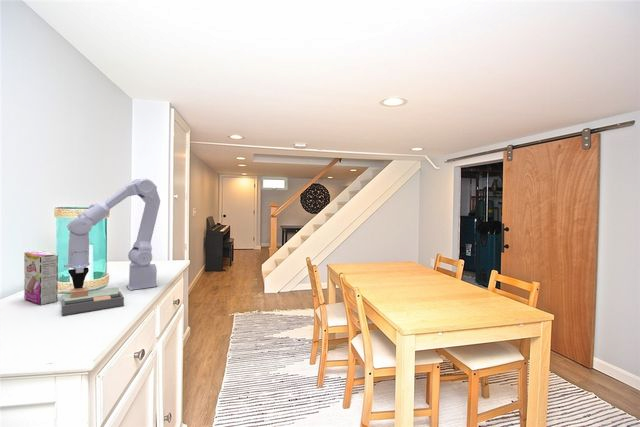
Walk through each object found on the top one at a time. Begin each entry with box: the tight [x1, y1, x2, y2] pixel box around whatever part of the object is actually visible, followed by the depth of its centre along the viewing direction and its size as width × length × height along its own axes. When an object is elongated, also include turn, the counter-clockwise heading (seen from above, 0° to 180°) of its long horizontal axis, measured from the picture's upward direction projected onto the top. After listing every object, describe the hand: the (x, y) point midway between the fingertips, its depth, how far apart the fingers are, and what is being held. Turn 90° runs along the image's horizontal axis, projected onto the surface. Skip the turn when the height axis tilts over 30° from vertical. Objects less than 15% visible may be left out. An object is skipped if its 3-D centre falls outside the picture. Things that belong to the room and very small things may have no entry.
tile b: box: [69, 286, 89, 298], centre depth 101 cm, size 4×4×2 cm
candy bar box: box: [23, 250, 59, 306], centre depth 100 cm, size 11×5×16 cm, turn 65°
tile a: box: [93, 295, 111, 301], centre depth 98 cm, size 4×4×2 cm
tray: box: [61, 290, 125, 317], centre depth 96 cm, size 16×8×3 cm, turn 132°
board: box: [61, 287, 121, 303], centre depth 103 cm, size 16×8×2 cm, turn 132°
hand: (78, 289), depth 106 cm, fingers closed
